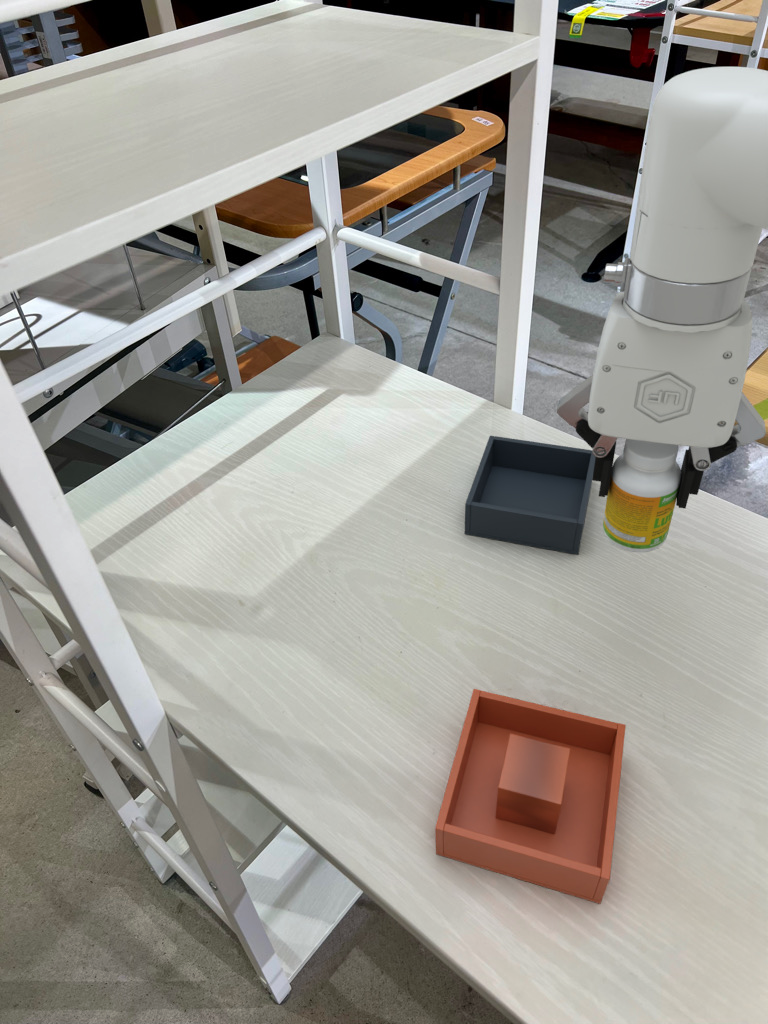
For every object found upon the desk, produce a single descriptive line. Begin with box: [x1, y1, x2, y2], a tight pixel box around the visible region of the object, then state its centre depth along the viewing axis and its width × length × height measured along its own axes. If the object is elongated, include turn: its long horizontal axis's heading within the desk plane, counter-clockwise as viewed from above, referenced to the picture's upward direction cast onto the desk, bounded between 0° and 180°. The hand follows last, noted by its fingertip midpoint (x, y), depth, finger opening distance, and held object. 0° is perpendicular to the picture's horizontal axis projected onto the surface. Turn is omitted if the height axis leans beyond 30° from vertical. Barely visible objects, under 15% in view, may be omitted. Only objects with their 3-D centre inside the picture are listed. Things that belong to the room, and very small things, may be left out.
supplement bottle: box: [602, 439, 681, 554], centre depth 61 cm, size 5×5×10 cm
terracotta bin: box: [434, 688, 627, 905], centre depth 58 cm, size 12×12×4 cm
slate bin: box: [464, 435, 596, 556], centre depth 82 cm, size 12×12×4 cm
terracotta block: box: [495, 734, 570, 834], centre depth 57 cm, size 5×5×5 cm
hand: (642, 489), depth 61 cm, fingers closed on supplement bottle, 5 cm apart
